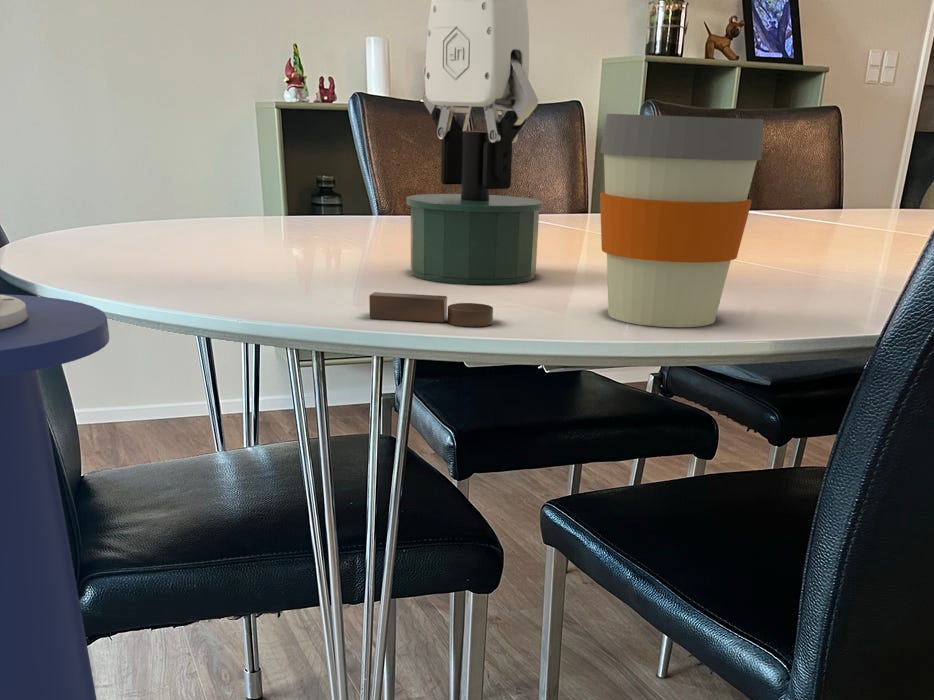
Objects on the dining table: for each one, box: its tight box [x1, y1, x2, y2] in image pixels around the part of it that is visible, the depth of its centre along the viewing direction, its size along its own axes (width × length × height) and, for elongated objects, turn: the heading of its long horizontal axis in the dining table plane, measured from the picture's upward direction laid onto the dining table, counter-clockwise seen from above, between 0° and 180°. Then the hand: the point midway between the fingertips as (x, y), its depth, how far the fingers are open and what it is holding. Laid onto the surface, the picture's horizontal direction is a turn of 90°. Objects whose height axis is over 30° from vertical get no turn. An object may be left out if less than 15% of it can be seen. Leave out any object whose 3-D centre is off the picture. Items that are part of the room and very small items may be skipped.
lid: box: [405, 130, 544, 213], centre depth 97 cm, size 14×14×7 cm
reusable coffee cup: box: [599, 113, 764, 328], centre depth 80 cm, size 13×13×15 cm
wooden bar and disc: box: [368, 291, 494, 328], centre depth 79 cm, size 10×4×2 cm, turn 82°
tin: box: [410, 206, 540, 286], centre depth 100 cm, size 13×13×6 cm
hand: (475, 184), depth 98 cm, fingers open, 5 cm apart
